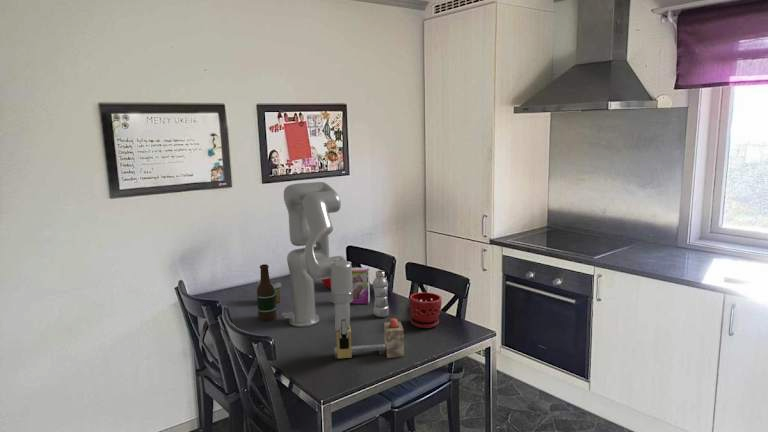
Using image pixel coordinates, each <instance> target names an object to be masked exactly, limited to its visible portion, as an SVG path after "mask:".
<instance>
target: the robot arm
mask: <svg viewBox="0 0 768 432" xmlns="http://www.w3.org/2000/svg"><path fill="white" fill-rule="evenodd" d="M283 201H284V204H285V207H286V209H287V213H288V229H289V230H288V231H289V232H288V233H289V240H290V243H291V245H293V246H295V247H302V248H296V249H292V250H291V251H289V252H288V254H287V256H286V261H287V266H288V271H289V277H290V290H291V311H289V312H282V313H281V318H284V320H288V319H289V324H290V325H291V326H293V327H310V326H313V325H315V324H317V323H318V322H319V321H320V316H319V315H318V314H316V304H315V303H316V298H315V282H314V281H322V280H323V279H328V278H331V288H330V293H331V295H330V296H331V303H333V304H334V324H335V326H334V327H335V332H336V331H338V330H340V338H339V340H340V349H348V348H349V337H348V330H349V329H351V323H350V322H351V304H350V302H352V301H353V286H352V268H353V267H352V264H351V262H350V261H347V260H346V259H345V257H344V256H342V255H334V256H330V247H329V246H330V244H329V241H330V240H329V238H330V237H329V235H330V234H331V233H333V230H334V227H333V223H332V221H331V218H330V214H331V213H337V212H339V211H340V209H341V205H342V203H341V199H340V196H339V194H338V192H336V190H335V189H334V188H333V187H331V186H330V185H329V184H328V183H327V182H324V181H314V182H299V183H292V184H290V185H287V186H286V187H284V190H283ZM341 328H342V329H341ZM341 331H342V333H341Z"/></svg>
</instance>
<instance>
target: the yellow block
mask: <svg viewBox="0 0 768 432" xmlns="http://www.w3.org/2000/svg"><path fill="white" fill-rule="evenodd" d="M341 329H342V328H341ZM335 332H336V334H335V335H336V347H337V354H338V358H337V359H347V358H349V359H350V358H352V357H353V352H352V348H351V346H352V329H351V328H350V329H349V330H348V337H349V348H348V349H340V340H339V338H340V330H338V331H336V330H335ZM341 333H342V331H341Z"/></svg>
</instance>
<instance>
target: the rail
mask: <svg viewBox="0 0 768 432" xmlns="http://www.w3.org/2000/svg"><path fill="white" fill-rule="evenodd" d="M351 348H352V353H359V352H373V351H374V352H375V351H378V354H379V356H384V355H386V351H385V350H386V344H385V343H379V344H378V343H377V344H364V345H351ZM334 359H339V358H338V354H337V346H336V347H334Z"/></svg>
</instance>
